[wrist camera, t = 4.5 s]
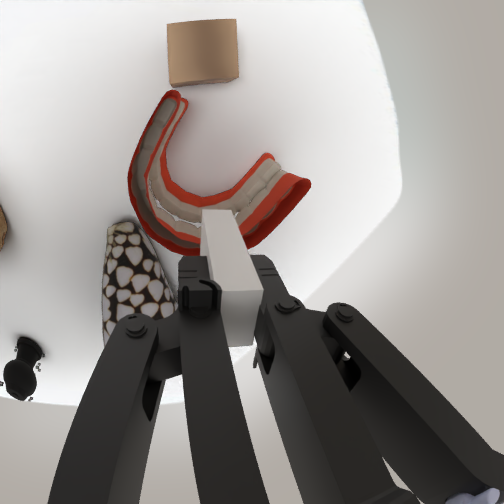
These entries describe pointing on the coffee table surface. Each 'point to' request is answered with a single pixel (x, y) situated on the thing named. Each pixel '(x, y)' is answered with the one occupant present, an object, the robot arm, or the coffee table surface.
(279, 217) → the toy
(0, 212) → the brown rock
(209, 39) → the walnut block
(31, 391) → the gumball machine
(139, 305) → the seashell
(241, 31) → the coffee table surface
